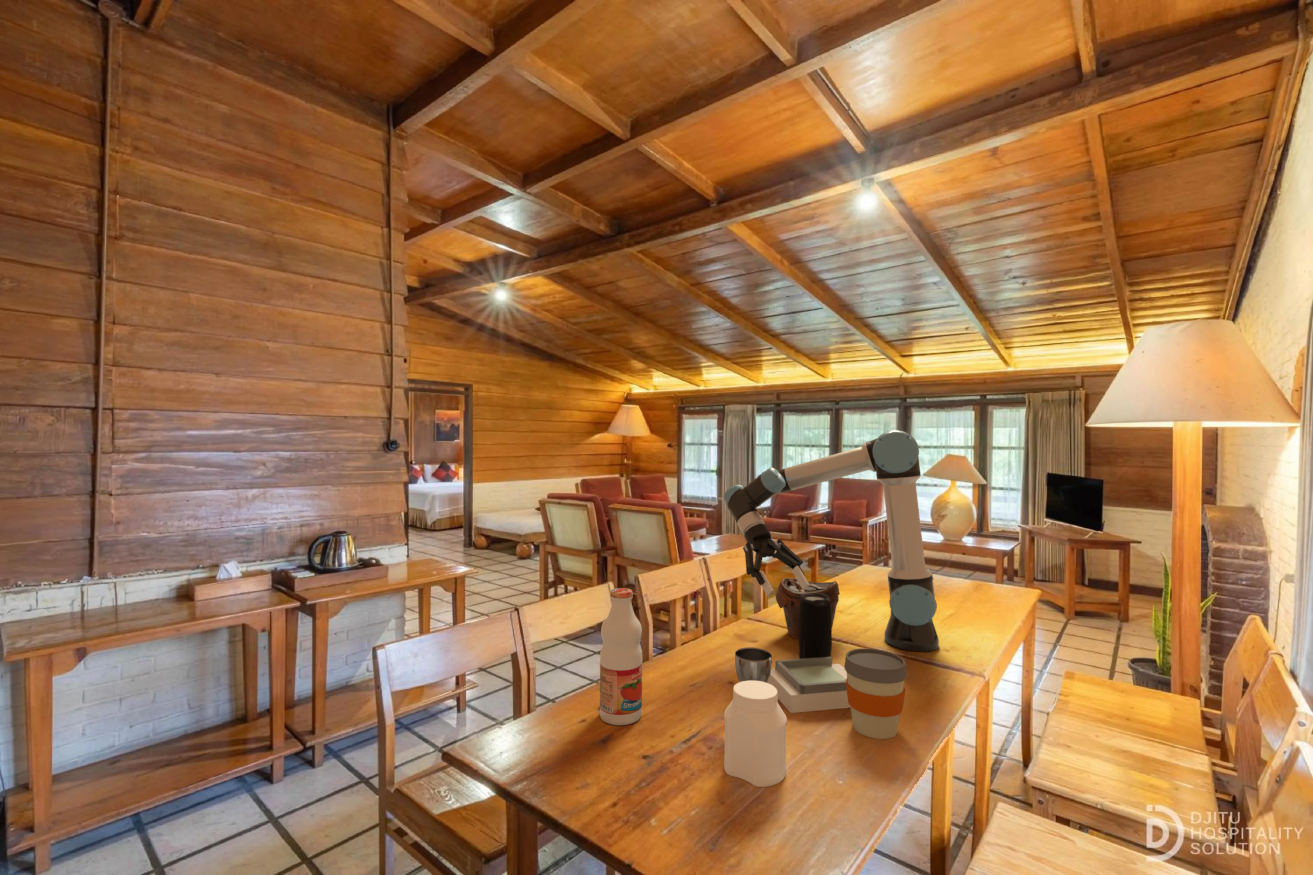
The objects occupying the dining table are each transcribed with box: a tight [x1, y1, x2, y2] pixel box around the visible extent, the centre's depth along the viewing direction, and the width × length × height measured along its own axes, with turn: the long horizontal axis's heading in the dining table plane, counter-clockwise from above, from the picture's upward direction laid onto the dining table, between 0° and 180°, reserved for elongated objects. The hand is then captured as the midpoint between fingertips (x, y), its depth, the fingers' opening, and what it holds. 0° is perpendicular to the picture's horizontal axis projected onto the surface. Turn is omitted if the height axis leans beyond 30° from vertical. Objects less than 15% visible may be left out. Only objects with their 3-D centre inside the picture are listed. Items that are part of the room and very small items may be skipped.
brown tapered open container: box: [775, 577, 841, 640], centre depth 184 cm, size 18×20×18 cm
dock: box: [767, 656, 851, 714], centre depth 141 cm, size 25×15×6 cm, turn 101°
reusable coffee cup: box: [843, 648, 908, 740], centre depth 125 cm, size 12×13×15 cm
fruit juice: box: [599, 587, 643, 726], centre depth 130 cm, size 9×9×28 cm
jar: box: [723, 680, 788, 788], centre depth 109 cm, size 12×10×15 cm
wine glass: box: [734, 646, 773, 683], centre depth 127 cm, size 8×8×15 cm
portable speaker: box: [798, 593, 833, 659], centre depth 157 cm, size 9×9×20 cm
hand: (788, 590), depth 165 cm, fingers open, 13 cm apart
